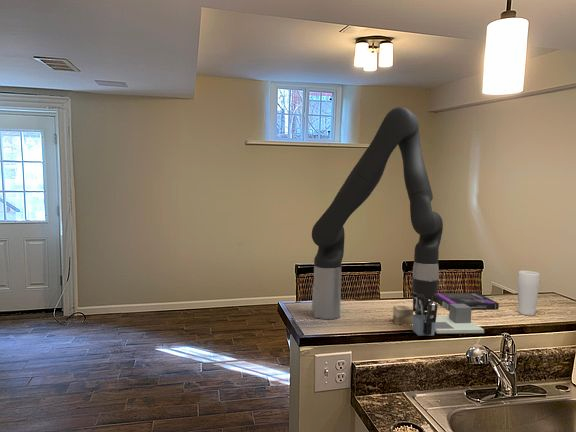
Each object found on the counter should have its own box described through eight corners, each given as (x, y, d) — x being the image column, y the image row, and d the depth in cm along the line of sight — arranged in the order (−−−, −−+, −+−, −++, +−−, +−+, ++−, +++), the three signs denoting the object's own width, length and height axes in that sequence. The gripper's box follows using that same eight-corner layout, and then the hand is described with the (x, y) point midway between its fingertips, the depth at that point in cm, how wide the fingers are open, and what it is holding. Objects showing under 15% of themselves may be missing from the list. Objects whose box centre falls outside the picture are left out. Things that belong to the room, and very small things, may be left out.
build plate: (437, 333, 136) (437, 314, 136) (419, 319, 150) (420, 301, 150) (484, 332, 138) (485, 313, 137) (462, 318, 152) (463, 301, 151)
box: (448, 313, 162) (499, 311, 164) (448, 303, 161) (499, 301, 163) (431, 301, 175) (479, 300, 177) (432, 293, 175) (479, 291, 177)
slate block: (418, 335, 134) (418, 319, 134) (412, 330, 139) (412, 314, 139) (434, 335, 135) (435, 319, 134) (427, 330, 140) (428, 314, 139)
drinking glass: (536, 312, 160) (539, 271, 159) (538, 317, 154) (540, 275, 153) (515, 310, 163) (517, 269, 162) (516, 315, 157) (518, 273, 156)
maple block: (397, 325, 144) (398, 310, 144) (392, 320, 149) (393, 305, 149) (412, 325, 145) (413, 309, 144) (407, 320, 150) (408, 305, 149)
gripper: (405, 272, 143) (403, 323, 144) (422, 282, 128) (420, 339, 130) (428, 272, 143) (426, 323, 145) (447, 282, 129) (445, 339, 130)
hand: (423, 330), depth 137 cm, fingers open, 5 cm apart
